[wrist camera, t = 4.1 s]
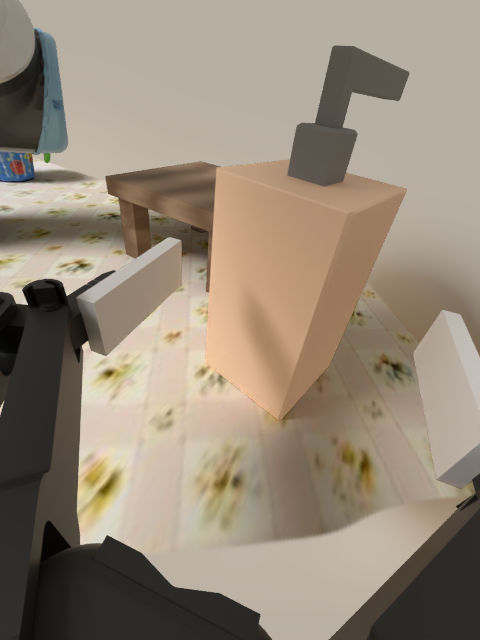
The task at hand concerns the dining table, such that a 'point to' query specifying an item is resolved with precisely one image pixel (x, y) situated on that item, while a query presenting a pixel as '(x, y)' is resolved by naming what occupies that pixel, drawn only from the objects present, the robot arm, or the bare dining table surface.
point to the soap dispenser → (297, 245)
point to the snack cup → (17, 166)
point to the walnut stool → (165, 201)
